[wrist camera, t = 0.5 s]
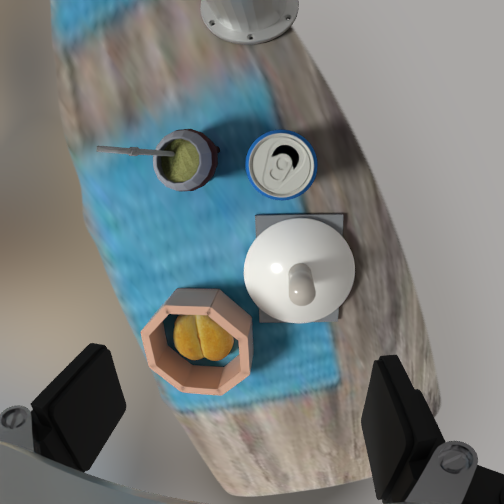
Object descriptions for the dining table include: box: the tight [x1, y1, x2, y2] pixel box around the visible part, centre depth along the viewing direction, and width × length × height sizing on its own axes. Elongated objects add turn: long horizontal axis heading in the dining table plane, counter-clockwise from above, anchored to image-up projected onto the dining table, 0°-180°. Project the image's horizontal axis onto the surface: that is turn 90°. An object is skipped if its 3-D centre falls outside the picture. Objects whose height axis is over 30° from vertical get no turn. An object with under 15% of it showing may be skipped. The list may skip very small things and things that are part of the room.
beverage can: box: [246, 130, 317, 200], centre depth 32 cm, size 6×6×12 cm
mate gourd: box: [97, 129, 220, 191], centre depth 32 cm, size 8×8×15 cm
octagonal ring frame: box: [141, 288, 254, 395], centre depth 43 cm, size 15×15×6 cm
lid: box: [244, 217, 355, 323], centre depth 38 cm, size 14×14×7 cm
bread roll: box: [173, 314, 234, 361], centre depth 44 cm, size 8×9×4 cm
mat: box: [255, 214, 343, 323], centre depth 41 cm, size 15×11×1 cm
